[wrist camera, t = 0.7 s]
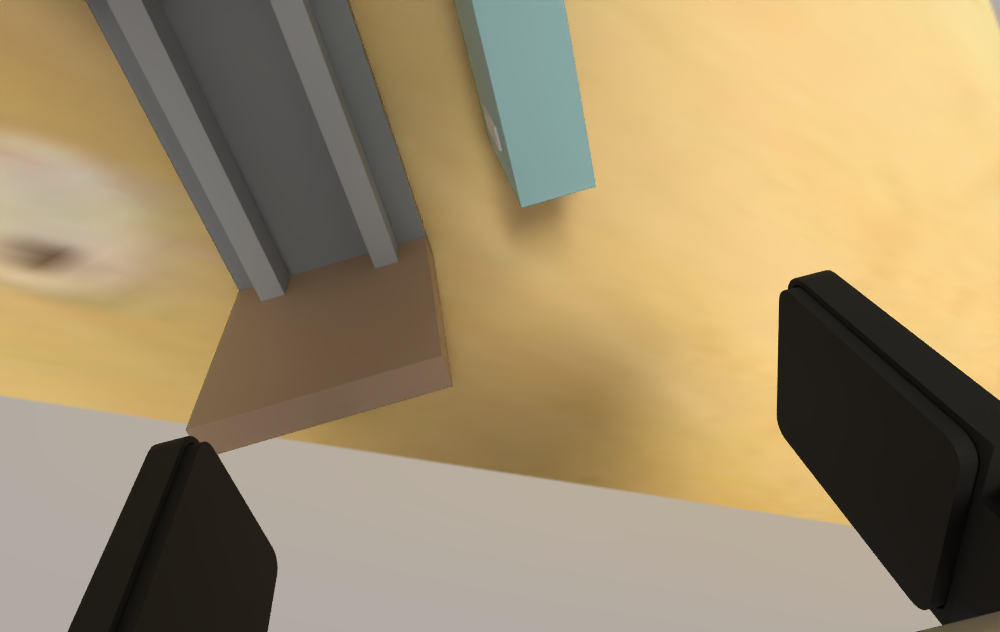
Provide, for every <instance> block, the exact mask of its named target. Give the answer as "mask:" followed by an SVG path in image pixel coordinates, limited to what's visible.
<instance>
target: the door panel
mask: <svg viewBox="0 0 1000 632" xmlns="http://www.w3.org/2000/svg"><path fill="white" fill-rule="evenodd" d="M454 2H455V6H456V10H457V14H458V18H459V22H460V26H461V30H462V34H463V38H464V42H465V46H466V49H467V53H468V57H469V61H470V65H471V69H472V73H473V77H474V81H475V85H476V89H477V93H478V97H479V101H480V105H481V109H482V113H483V116H484V120H485V124H486V128H487V132H488V136H489V140H490V143H491V145H492V147H493V149H494V151H495V153H496V156H497V158H498V160H499V162H500V164H501V166H502V168H503V170H504V172H505V174H506V176H507V178H508V180H509V183H510V185H511V187H512V189H513V191H514V193H515V195H516V197H517V199H518V201H519V203H520V205H521V207H522V208H523V207H526V206H530V205H533V204H537V203H540V202H544V201H547V200H551V199H554V198H558V197H561V196H564V195H568V194H571V193H575V192H578V191H582V190H585V189H589V188H592V187H596V184H595V178H594V172H593V166H592V160H591V154H590V149H589V143H588V137H587V131H586V125H585V119H584V114H583V108H582V102H581V96H580V90H579V84H578V79H577V73H576V67H575V61H574V55H573V49H572V44H571V38H570V32H569V26H568V20H567V14H566V9H565V3H564V0H454Z"/></svg>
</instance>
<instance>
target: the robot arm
mask: <svg viewBox="0 0 1000 632" xmlns="http://www.w3.org/2000/svg"><path fill="white" fill-rule="evenodd" d="M777 421H778V425H779V428H780V431H781V433H782V435H783V436H784V438H785V439H786V441H787V442H788V443H789V445H790V446H791V447H792V448H793V450H794V451H795V452H796V454H797V455H798V456H799V457H800V459H801V460H802V461H803V463H804V464H805V465H806V466H807V468H808V469H809V470H810V472H811V473H812V474H813V475H814V477H815V478H816V479H817V481H818V482H819V483H820V484H821V486H822V487H823V488H824V490H825V491H826V492H827V493H828V495H829V496H830V497H831V499H832V500H833V501H834V502H835V504H836V505H837V506H838V508H839V509H840V510H841V511H842V513H843V514H844V515H845V517H846V518H847V519H848V520H849V522H850V523H851V524H852V526H853V527H854V528H855V529H856V531H857V532H858V533H859V534H860V536H861V537H862V538H863V540H864V541H865V542H866V544H867V545H868V546H869V547H870V549H871V550H872V551H873V553H874V554H875V555H876V556H877V558H878V559H879V560H880V562H881V563H882V564H883V565H884V567H885V568H886V569H887V571H888V572H889V573H890V574H891V576H892V577H893V578H894V579H895V581H896V582H897V583H898V585H899V586H900V587H901V589H902V590H903V591H904V592H905V594H906V595H907V596H908V598H909V599H910V600H911V601H912V602H913V603H914V604H915V605H916V606H917V607H918V608H920V609H922V610H927V609H930V610H931V611H932V613H933V614H934V615H935V616H936V618H937V619H938V620H939V621H940V623H941V624H942V626H938V627H934V628H930V629H926V630H921V631H917V632H1000V400H998V399H997V398H996V397H994V396H993V395H992V394H990V393H989V392H988V391H987V390H985V389H984V388H983V387H981V386H980V385H979V384H978V383H976V382H975V381H974V380H972V379H971V378H970V377H969V376H967V375H966V374H965V373H963V372H962V371H961V370H959V369H958V368H957V367H956V366H954V365H953V364H952V363H950V362H949V361H948V360H947V359H945V358H944V357H943V356H941V355H940V354H939V353H938V352H936V351H935V350H934V349H932V348H931V347H930V346H929V345H927V344H926V343H925V342H923V341H922V340H921V339H919V338H918V337H917V336H916V335H914V334H913V333H912V332H910V331H909V330H908V329H907V328H905V327H904V326H903V325H901V324H900V323H899V322H898V321H896V320H895V319H894V318H892V317H891V316H890V315H888V314H887V313H886V312H885V311H883V310H882V309H881V308H879V307H878V306H877V305H876V304H874V303H873V302H872V301H870V300H869V299H868V298H867V297H865V296H864V295H863V294H861V293H860V292H859V291H858V290H856V289H855V288H854V287H852V286H851V285H850V284H848V283H847V282H846V281H845V280H843V279H842V278H841V277H839V276H838V275H837V274H836V273H834V272H832V271H830V270H825V271H821V272H817V273H814V274H810V275H806V276H802V277H798V278H794V279H793V280H791V281H790V283H789V285H788V290H784V291H782V292H781V294H780V298H779V333H778V382H777ZM276 577H277V559H276V555H275V552H274V550H273V548H272V546H271V544H270V543H269V541H268V539H267V537H266V536H265V534H264V533H263V531H262V529H261V527H260V526H259V524H258V522H257V521H256V519H255V517H254V516H253V514H252V512H251V511H250V509H249V507H248V506H247V504H246V502H245V500H244V499H243V497H242V495H241V494H240V492H239V490H238V489H237V487H236V485H235V484H234V482H233V480H232V479H231V477H230V475H229V474H228V472H227V470H226V469H225V467H224V465H223V463H222V462H221V460H220V459H219V457H218V455H217V453H216V452H215V450H214V448H213V447H212V446H211V444H210V443H208V442H205V441H204V442H199V441H198V439H196V438H195V437H194V436H187V437H183V438H179V439H175V440H172V441H167V442H163V443H160V444H156V445H154V446H152V447H151V449H150V450H149V452H148V454H147V456H146V458H145V461H144V463H143V465H142V467H141V469H140V472H139V474H138V476H137V478H136V481H135V483H134V485H133V487H132V490H131V492H130V494H129V496H128V499H127V501H126V503H125V505H124V507H123V510H122V512H121V514H120V516H119V519H118V521H117V523H116V525H115V527H114V530H113V532H112V534H111V536H110V538H109V541H108V543H107V545H106V547H105V550H104V552H103V554H102V556H101V559H100V561H99V563H98V565H97V568H96V570H95V572H94V574H93V576H92V579H91V581H90V583H89V585H88V587H87V590H86V592H85V594H84V596H83V599H82V601H81V603H80V605H79V608H78V610H77V612H76V614H75V616H74V619H73V621H72V623H71V625H70V628H69V630H68V632H267V631H268V625H269V619H270V613H271V607H272V601H273V594H274V588H275V583H276Z"/></svg>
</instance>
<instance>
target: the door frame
mask: <svg viewBox="0 0 1000 632" xmlns="http://www.w3.org/2000/svg"><path fill="white" fill-rule="evenodd" d="M86 2H87V4H88V6H89V8H90V10H91V11H92V13H93V15H94V17H95V19H96V21H97V23H98V25H99V27H100V28H101V30H102V32H103V34H104V36H105V38H106V40H107V42H108V44H109V45H110V47H111V49H112V51H113V53H114V55H115V57H116V59H117V61H118V62H119V64H120V66H121V68H122V70H123V72H124V74H125V76H126V78H127V79H128V81H129V83H130V85H131V87H132V89H133V91H134V93H135V95H136V96H137V98H138V100H139V102H140V104H141V106H142V108H143V110H144V112H145V113H146V115H147V117H148V119H149V121H150V123H151V125H152V127H153V129H154V130H155V132H156V134H157V136H158V138H159V140H160V142H161V144H162V146H163V147H164V149H165V151H166V153H167V155H168V157H169V159H170V161H171V163H172V164H173V166H174V168H175V170H176V172H177V174H178V176H179V178H180V180H181V181H182V183H183V185H184V187H185V189H186V191H187V193H188V195H189V197H190V198H191V200H192V202H193V204H194V206H195V208H196V210H197V212H198V214H199V215H200V217H201V219H202V221H203V223H204V225H205V227H206V229H207V231H208V232H209V234H210V236H211V238H212V240H213V242H214V244H215V246H216V248H217V249H218V251H219V253H220V255H221V257H222V259H223V261H224V263H225V265H226V266H227V268H228V270H229V272H230V274H231V276H232V278H233V280H234V282H235V283H236V285H237V287H238V289H239V293H238V295H237V298H236V300H235V303H234V306H233V308H232V311H231V313H230V316H229V319H228V321H227V324H226V326H225V329H224V332H223V334H222V337H221V339H220V342H219V345H218V347H217V350H216V352H215V355H214V358H213V360H212V363H211V365H210V368H209V371H208V373H207V376H206V378H205V381H204V384H203V386H202V389H201V391H200V394H199V397H198V399H197V402H196V404H195V407H194V410H193V412H192V415H191V417H190V420H189V423H188V425H187V428H186V431H187V433H188V434H189V436H194V437H195V438H196V439H198V441H199V442H204V441H205V442H208V443H210V444H211V446H212V447H213V448H214V450H215V452H216V453H217V454H220V453H223V452H227V451H230V450H234V449H237V448H240V447H244V446H248V445H251V444H254V443H258V442H261V441H265V440H268V439H272V438H275V437H279V436H282V435H285V434H289V433H292V432H296V431H299V430H303V429H306V428H310V427H313V426H316V425H320V424H323V423H327V422H330V421H334V420H337V419H341V418H344V417H347V416H351V415H354V414H358V413H361V412H365V411H368V410H372V409H375V408H378V407H382V406H385V405H389V404H392V403H396V402H399V401H403V400H406V399H410V398H413V397H416V396H420V395H423V394H427V393H430V392H434V391H437V390H441V389H444V388H447V387H451V386H453V385H452V379H451V372H450V365H449V359H448V352H447V345H446V339H445V332H444V326H443V319H442V312H441V306H440V299H439V292H438V286H437V279H436V272H435V266H434V259H433V253H432V250H431V247H430V244H429V241H428V238H427V235H426V232H425V229H424V226H423V223H422V220H421V217H420V214H419V211H418V208H417V205H416V202H415V199H414V196H413V193H412V190H411V187H410V184H409V181H408V178H407V175H406V172H405V169H404V166H403V163H402V160H401V157H400V154H399V151H398V148H397V145H396V142H395V139H394V136H393V133H392V130H391V127H390V124H389V121H388V118H387V115H386V112H385V109H384V106H383V103H382V100H381V97H380V94H379V91H378V88H377V85H376V82H375V79H374V76H373V73H372V70H371V67H370V64H369V61H368V58H367V55H366V52H365V49H364V46H363V43H362V40H361V37H360V34H359V31H358V28H357V25H356V22H355V19H354V16H353V13H352V10H351V7H350V4H349V1H348V0H86Z"/></svg>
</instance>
